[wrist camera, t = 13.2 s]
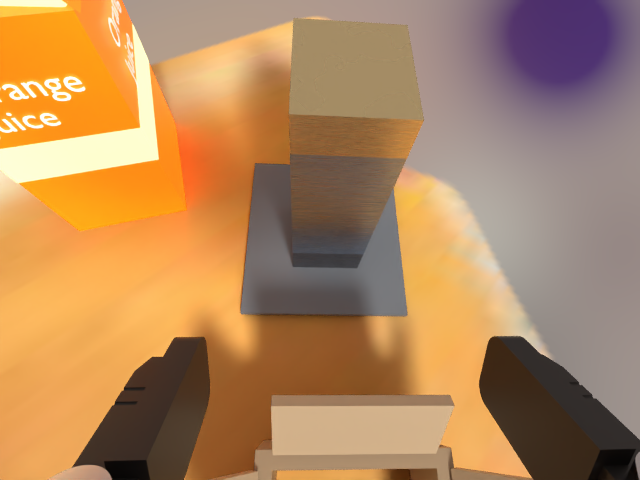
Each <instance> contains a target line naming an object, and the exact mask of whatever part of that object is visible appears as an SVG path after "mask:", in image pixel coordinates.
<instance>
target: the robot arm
mask: <svg viewBox="0 0 640 480" xmlns="http://www.w3.org/2000/svg"><path fill="white" fill-rule="evenodd" d="M479 388H480V393H481V397H482V400H483V402H484V404H485V405H486V407H487V408H488V410H489V412H490V413H491V415H492V416H493V418H494V419H495V421H496V422H497V424H498V425H499V427H500V429H501V430H502V432H503V433H504V435H505V436H506V438H507V439H508V441H509V443H510V444H511V446H512V447H513V449H514V450H515V452H516V453H517V455H518V457H519V458H520V460H521V461H522V463H523V464H524V466H525V467H526V469H527V471H528V472H529V474H530V475H531V477H532V478H533V480H640V440H639V439H638V438H637V437H636V436H635V435H634V434H633V433H632V432H631V431H630V430H629V429H627V428H626V427H625V426H624V425H623V424H622V423H621V422H620V421H619V420H618V419H617V418H616V417H615V416H614V415H613V414H612V413H611V412H610V411H609V410H608V409H606V408H605V407H604V406H603V405H602V404H601V403H600V402H599V401H598V400H597V399H593V397H592V394H591V393H590V392H589V391H587V390H586V389H585V388H584V387H583V386H582V385H579V382H578V381H577V380H576V379H575V378H574V377H573V376H572V375H571V374H570V373H569V372H567V371H566V370H565V369H564V368H563V367H562V366H560V365H559V364H557V363H555V362H554V361H552V360H551V359H549V358H547V357H546V356H544V355H541V354H540V353H539V352H538V351H537V350H536V349H535V348H534V347H533V346H532V345H531V344H530V343H529V342H528V341H527V340H525V339H524V338H523V337H520V336H494V337H492V338H490V340H489V342H488V345H487V350H486V354H485V358H484V363H483V367H482V371H481V375H480V380H479ZM209 394H210V378H209V367H208V356H207V345H206V340H205V338H204V337H176V338H174V339H173V341H172V342H171V344H170V346H169V348H168V349H167V351H166V353H165V355H164V356H163V357H152V358H150V359H149V360H148V361H147V362H145V363H144V364H143V365H142V366H140V367H139V368H138V369H137V370H136V371H135V372H134V373H133V375H132V376H131V378H130V379H129V381H128V382H127V384H126V386H125V387H124V391H122V392H121V393H120V395H119V396H118V398H117V399H116V401H115V405H113V406H112V407H111V409H110V410H109V412H108V413H107V415H106V416H105V418H104V419H103V421H102V422H101V424H100V425H99V427H98V429H97V430H96V432H95V433H94V435H93V436H92V438H91V439H90V441H89V442H88V444H87V445H86V447H85V449H84V450H83V452H82V453H81V455H80V456H79V458H78V459H77V461H76V462H75V464H74V465H73V467H72V468H70V469H67V470H65V471H63V472H60V473H58V474H56V475H55V476H53V477H51V478H50V479H48V480H184V478H185V475H186V472H187V469H188V465H189V462H190V459H191V456H192V453H193V450H194V447H195V444H196V440H197V437H198V434H199V431H200V428H201V425H202V422H203V419H204V415H205V412H206V409H207V406H208V401H209Z"/></svg>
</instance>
